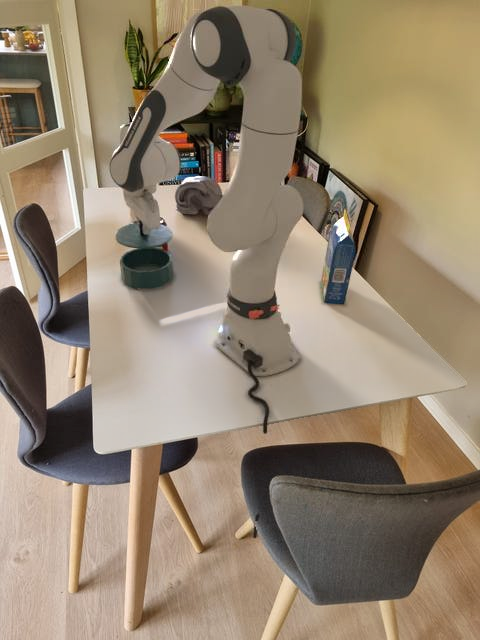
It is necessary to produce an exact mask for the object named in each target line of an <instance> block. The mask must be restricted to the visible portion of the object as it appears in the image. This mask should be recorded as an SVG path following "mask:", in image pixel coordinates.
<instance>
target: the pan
mask: <svg viewBox="0 0 480 640" xmlns="http://www.w3.org/2000/svg"><path fill="white" fill-rule="evenodd" d="M144 265H146V266H149V265H154V266H160V267H159V268H157V269H152V270H138V269H134V268H135V267H140V266H144ZM119 267H120V268H119V269H120V275H121V277H120V278H121V280H122V283H123V284H124V285H125V286H126V287H128V288H130V289H133V290H136V291H139V290H153V289H157V288H161V287H164V286H165V285H168V284H169V283H170V282H171V281H172V280H173V278H174V264H173V255H171V253H170V252H169V251H168V252H167V251H165V250H162V249H158V248H146V249H138V248H132V249H131V250H129V251H126V252H125V253H123V254H122V255H121V256H120V258H119Z"/></svg>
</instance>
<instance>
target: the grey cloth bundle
mask: <svg viewBox="0 0 480 640" xmlns="http://www.w3.org/2000/svg"><path fill="white" fill-rule="evenodd" d="M223 195H224V194H223V191H222V188H221V185H220V184H219V183H218V182H217V181H216V180H215V179H214V178H212V177H208V176H203V175H202V176H200V175H198V176H188V177H185V178H184V179H183V180H182V182H181V184H179V186H177V188H176V190H175V193H174V200H175V203H176V205H175V211H176V212H177V213H179V214H182V215H184V214H185V215H197V214H198V213H199V212H200V210H202V212H203V214H204V215H205V216H209V214H210V212H211V211H212V210H213V209H214V208H215V206H216V205H217V204H218V203H219V201H220V200H221V198H222V197H223Z"/></svg>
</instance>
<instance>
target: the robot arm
mask: <svg viewBox="0 0 480 640" xmlns="http://www.w3.org/2000/svg"><path fill="white" fill-rule="evenodd" d="M296 45H297V36H296V31H295V26H294V24H293V22H292V21H291V19H290V18H289V17H288V16H287V15H285V13H283V12H282V11H278V10H276V9H273V8H260V7H253V6H250V5H231V6H221V5H220V6H218V5H217V6H215V7H212V8H211V7H210V8H208V9H206V10H204V11H198V12H196V13H194V14H192V15H191V16H190V18H188V19H187V22H186V23H185V25H184V27H183V28H182V30H181V32H180V34H179V36H178V38H177V40H176V42H175V44H174V47H173V50H172V52H171V54H170V57H169V61H168V62H167V65H166V67H165V69H164V71H163V73H162V75H161V76H160V78H159V80H158V81H157V82H156V84H155V85H154V86H153V88H152V89H151V90H150V91H149V92H148V93H147V95H145V97H144V98H143V100H142V102H141V103H140V104H139V107H138V109H137V111H136V112H135V115H134V116H133V119H132V122H126V123H123V124H122V125H121V126H120V128H119V134H118V135H119V136H118V137H119V139H118V142H119V146H118V147H117V148H116V149H115V150H114V151H113V153H112V155H111V158H110V161H109V173H110V177H111V179H112V181H113V183H114V184H116V185H117V186H118V187H119V188H121V189H122V193H123V199H124V202H125V205H126V206H127V207H128V209H129V210H130V209H131V210H132V211H133V213H134V214H135V217H136V220H137V221H136V223H137V224H138V228H139V221H140V220H141V221H142V224H143V227H142V232H143V233H144V235H147V234H149V233H150V229H155V228H159V227H160V225H161V220H160V217H161V212H160V205H159V203H158V201H157V199H156V198H155V197H154V196H153V194H155V193H156V192H157V184H161V183H163V182H167V181H171V180H173V179H175V178H177V177H178V176H179V174H180V172H181V168H182V158H181V154H180V151H179V149H178V148H177V147H176V146H175V145H174V144H173V142H170V141H166V140H165V139H164V138H162V137H161V136H159V135H160V134H161V133H162V132H163V131H165V130H166V129H167V128H170V127H171V126H173V125H175V124H177V123H179V122H181V121H183V120H186V119H188V118H191V117H194V116H196V115H198V114H200V113H202V112H203V111H204V110H205V109H206V108H207V107H208V105H209V104H210V103H211V101H212V100H213V98H214V97H215V95H216V92H217V91H218V88H219V86H220V84H221V83H222V84H223V85H225V86H226V87H228V88H233V87H235V86H237V85H238V86H239V88H240V89H241V91H242V94H243V108H242V117H241V124H240V135H239V142H238V148H237V156H236V162H235V166H234V169H233V172H232V173H231V177H230V180H229V182H228V184H227V187H226V189H225V190H224V193H223V194H222V195H223V197H222V198H221V200H220V201H219V203H218V204H217V205H216V206H215V208H214V209H213V210H212V211H211V212H210V214H209V215H207V216H208V217H207V220H206V230H207V235H208V237H209V239H210V241H211V242H212V244H213V245H214V246H215V248H218V250H220V251H221V252H224V253H234V255H233V256H232V258H231V260H230V265H229V286H228V288H227V293H226V305H227V307H226V309H225V312H224V313H223V316H222V320H221V325H220V327H219V329H218V333H220V335H219V337H218V338H217V339H216V342H215V346H216V347H217V348H218V349H219V350H220V351H221V352H223V353H224V354H225V355H226V356H228V357H229V358H230V359H231V360H232V361H234V362H235V363H236V364H238V365H239V367H241V368H242V369H243V370H244V371H246V372H247V373H248V375H249V376H250V377H251V379H252V380H253V381H254V383H255V384H254V385H253V386H252V387H251V388H249V390H248V391H247V394H248V397H249V398H250V399H252V400H253V401H255V402H258V403H261V404H262V405H263V407H264V412H265V413H264V416H263V424H262V432H263V434H264V435H266V434H268V422H269V417H270V407H269V405H268V403H267V401H266V399H263V398H261V397H259V396H256V395H255V394H253V392H254V391H256V390H257V389H258V388H259V386H260V381H259V378H258V377H266V376H271V375H272V376H273V375H276V374H279V373H281V372H284V371H286V370H289V369H291V368H292V367H294V366H295V365H296V364H298V362H299V360H300V354H299V353H298V351H297V350H296V349H295V347H294V345H293V344H292V338H291V335H290V333H289V332H291V325H290V324H289V323H285V322H284V320H283V318H282V313H281V312H280V311H279V309H280V305H281V304H278V297H277V294H276V282H277V274H278V268H279V264H280V260H281V257H282V255H283V252H284V250H285V247H286V245H287V243H288V240H289V238H290V237H291V236H290V235H291V234H292V232H293V231H294V228H295V227H296V225H297V224H298V223H299V222H300V220H301V219H302V217H303V214H304V209H305V208H304V207H305V206H304V200H303V197H302V196H301V193H300V192H299V191H298V190H297V189H296V188H295V187H293V186H292V185H289V184H282V182H283V181H284V180H285V179H286V177H287V176H288V175H289V173H290V172H291V170H292V167H293V161H294V155H295V151H296V144H297V138H298V134H299V133H298V132H299V128H300V120H301V112H302V101H303V99H302V98H303V79H302V78H303V77H302V75H301V72H300V71H299V69H298V68H297V67H296V66H295V65H294V64H293V63H291V61H292V59H293V56H294V53H295V50H296ZM258 520H259V521H260V513H257V514H255V516H254V522H255V521H258ZM259 521H258V522H259ZM257 536H258V529H257V530H256V527H255V524H254V525H253V535H252V538H253V539H257V538H258V537H257Z"/></svg>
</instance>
